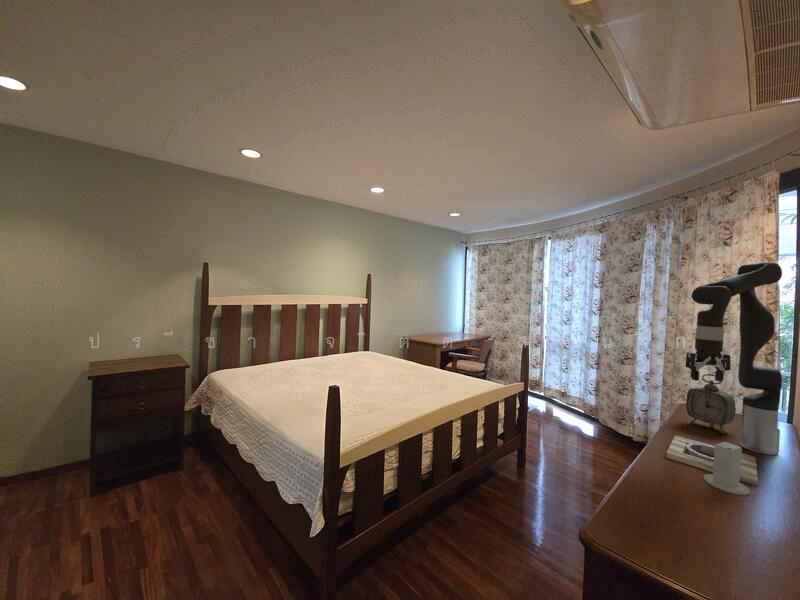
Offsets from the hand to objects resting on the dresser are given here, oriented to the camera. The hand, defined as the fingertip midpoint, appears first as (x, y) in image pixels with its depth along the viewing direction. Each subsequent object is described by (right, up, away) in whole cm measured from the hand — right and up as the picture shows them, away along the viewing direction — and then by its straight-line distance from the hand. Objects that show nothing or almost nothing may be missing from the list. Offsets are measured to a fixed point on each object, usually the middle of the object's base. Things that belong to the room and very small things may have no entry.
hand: (706, 380), depth 117 cm
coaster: (-14, -28, -20) cm, 37 cm away
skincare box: (-14, -28, -20) cm, 37 cm away
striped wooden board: (-3, -28, -5) cm, 29 cm away
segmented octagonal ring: (-3, -28, -5) cm, 29 cm away
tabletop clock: (+26, -29, +25) cm, 46 cm away
